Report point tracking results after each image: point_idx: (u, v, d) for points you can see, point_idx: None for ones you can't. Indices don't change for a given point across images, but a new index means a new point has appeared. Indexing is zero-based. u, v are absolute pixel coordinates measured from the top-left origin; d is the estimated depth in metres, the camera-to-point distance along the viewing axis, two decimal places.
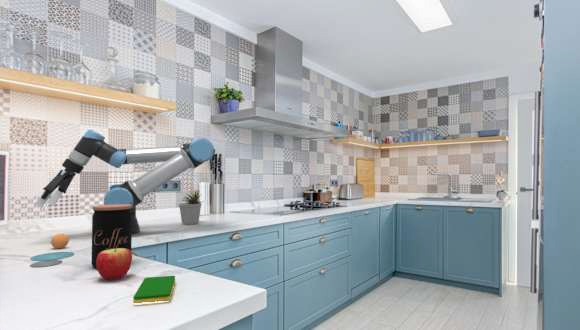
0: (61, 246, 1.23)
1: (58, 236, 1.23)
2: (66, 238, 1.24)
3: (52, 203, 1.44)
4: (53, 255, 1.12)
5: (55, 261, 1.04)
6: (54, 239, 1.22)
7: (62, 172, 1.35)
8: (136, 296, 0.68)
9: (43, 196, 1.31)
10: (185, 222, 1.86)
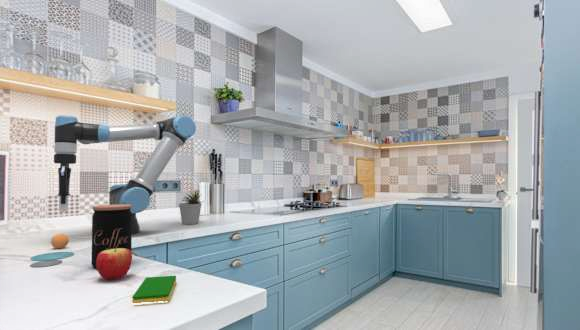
0: (61, 246, 1.23)
1: (58, 236, 1.23)
2: (66, 238, 1.24)
3: None
4: (53, 255, 1.12)
5: (55, 261, 1.04)
6: (54, 239, 1.22)
7: (61, 173, 1.28)
8: (135, 296, 0.68)
9: (62, 201, 1.31)
10: (185, 222, 1.86)
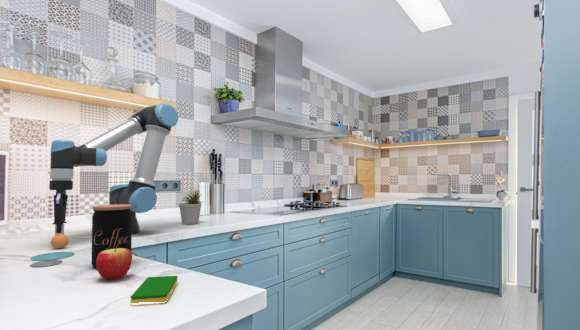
0: (61, 246, 1.23)
1: (58, 236, 1.23)
2: (66, 238, 1.24)
3: None
4: (53, 255, 1.12)
5: (55, 261, 1.04)
6: (54, 239, 1.22)
7: (57, 201, 1.22)
8: (133, 296, 0.68)
9: (58, 230, 1.25)
10: (185, 222, 1.86)
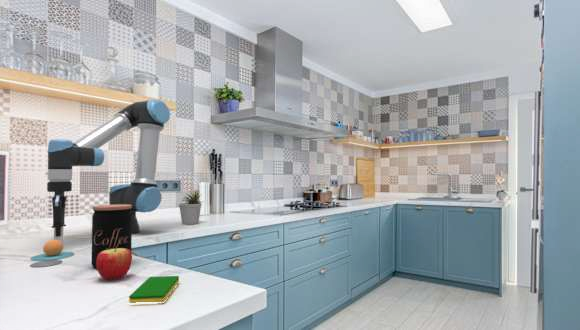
0: (55, 243, 1.11)
1: None
2: None
3: None
4: None
5: (55, 261, 1.04)
6: None
7: (56, 203, 1.17)
8: (132, 296, 0.68)
9: (57, 233, 1.20)
10: (185, 222, 1.86)
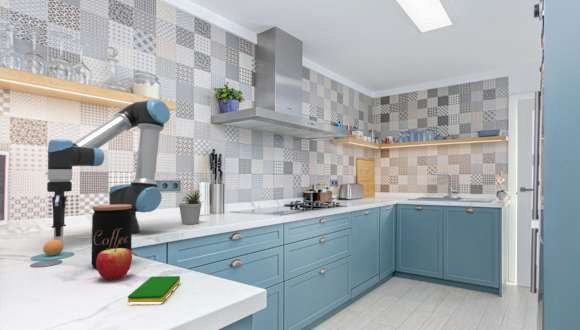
0: (55, 243, 1.11)
1: None
2: None
3: None
4: None
5: (55, 261, 1.04)
6: None
7: (56, 203, 1.17)
8: (130, 295, 0.69)
9: (57, 233, 1.20)
10: (185, 222, 1.86)
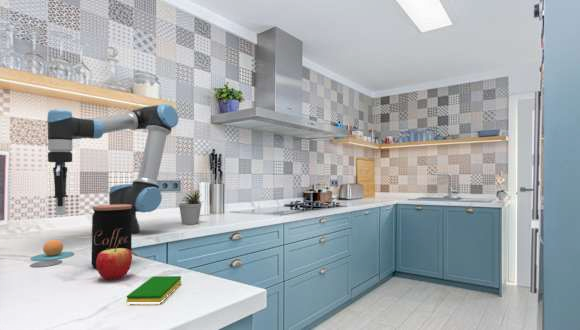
0: (55, 243, 1.11)
1: None
2: None
3: None
4: None
5: (55, 261, 1.04)
6: None
7: (57, 173, 1.17)
8: (129, 295, 0.69)
9: (59, 203, 1.21)
10: (185, 222, 1.86)
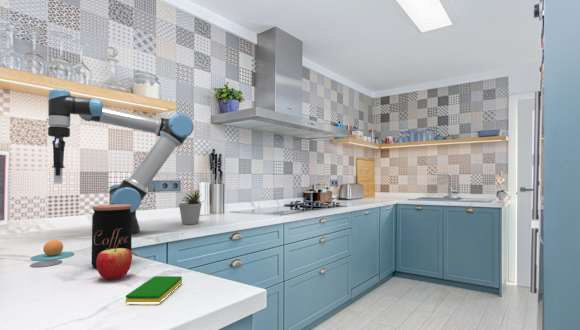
0: (55, 243, 1.11)
1: None
2: None
3: None
4: None
5: (55, 261, 1.04)
6: None
7: (56, 145, 1.32)
8: (128, 295, 0.69)
9: (57, 173, 1.35)
10: (185, 222, 1.86)
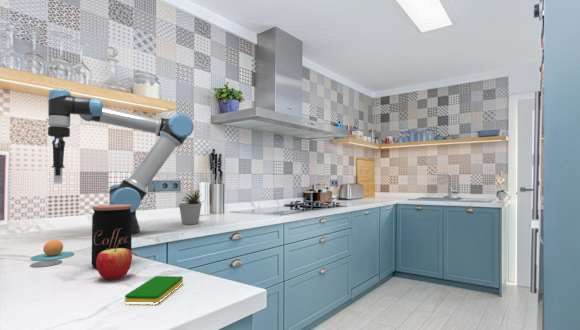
0: (55, 243, 1.11)
1: None
2: None
3: None
4: None
5: (55, 261, 1.04)
6: None
7: (55, 145, 1.32)
8: (127, 295, 0.69)
9: (56, 173, 1.35)
10: (185, 222, 1.86)
